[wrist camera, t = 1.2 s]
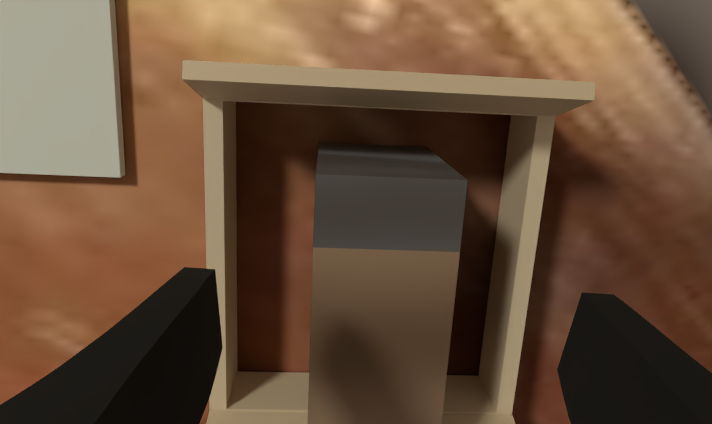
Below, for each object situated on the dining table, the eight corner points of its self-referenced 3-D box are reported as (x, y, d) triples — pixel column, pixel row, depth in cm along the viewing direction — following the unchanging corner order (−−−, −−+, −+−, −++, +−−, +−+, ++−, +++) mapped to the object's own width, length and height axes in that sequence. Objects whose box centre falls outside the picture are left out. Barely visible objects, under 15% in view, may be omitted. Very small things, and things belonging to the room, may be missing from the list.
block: (410, 341, 22) (439, 439, 16) (312, 339, 22) (306, 438, 16) (427, 147, 20) (467, 180, 14) (319, 142, 20) (315, 174, 14)
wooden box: (489, 400, 23) (531, 486, 18) (222, 396, 22) (194, 484, 17) (531, 78, 19) (597, 82, 15) (218, 61, 19) (181, 60, 14)
